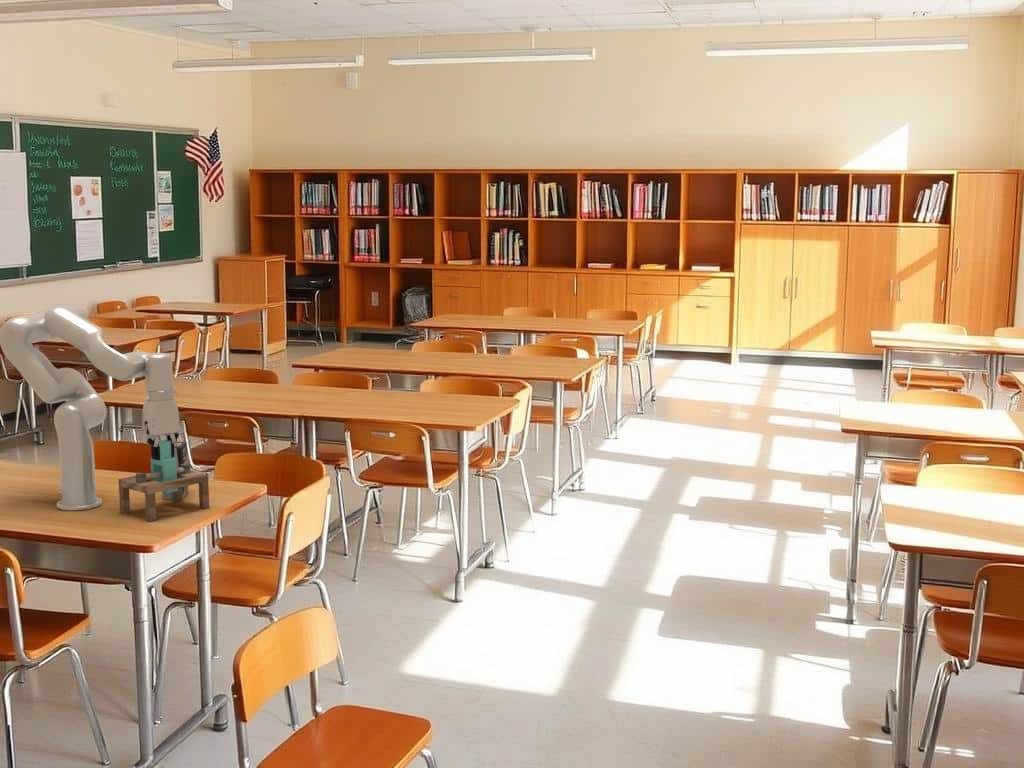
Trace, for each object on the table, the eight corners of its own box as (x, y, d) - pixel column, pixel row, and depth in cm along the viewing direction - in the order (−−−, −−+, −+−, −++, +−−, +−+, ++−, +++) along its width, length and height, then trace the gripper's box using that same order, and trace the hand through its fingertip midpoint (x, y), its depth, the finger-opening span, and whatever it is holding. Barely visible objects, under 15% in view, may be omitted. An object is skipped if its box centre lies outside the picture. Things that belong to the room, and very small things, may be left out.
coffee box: (183, 499, 345) (181, 447, 342) (161, 499, 344) (159, 447, 342) (189, 492, 354) (187, 441, 351) (168, 492, 353) (166, 441, 351)
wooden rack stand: (120, 512, 329) (118, 471, 327) (178, 499, 345) (177, 459, 343) (150, 521, 320) (148, 479, 318) (209, 507, 335) (207, 466, 334)
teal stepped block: (152, 489, 332) (149, 440, 330) (163, 487, 335) (161, 438, 333) (165, 493, 328) (163, 444, 326) (177, 490, 331) (175, 441, 329)
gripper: (177, 391, 336) (179, 451, 339) (126, 398, 323) (130, 461, 326) (192, 393, 331) (195, 455, 334) (142, 401, 318) (145, 465, 321)
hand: (163, 457), depth 330 cm, fingers closed on teal stepped block, 4 cm apart
